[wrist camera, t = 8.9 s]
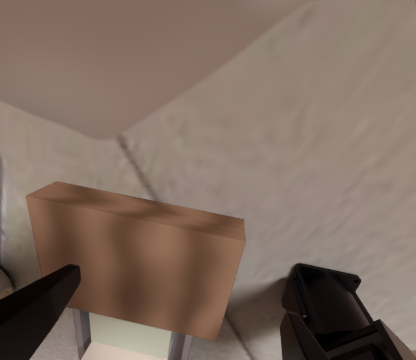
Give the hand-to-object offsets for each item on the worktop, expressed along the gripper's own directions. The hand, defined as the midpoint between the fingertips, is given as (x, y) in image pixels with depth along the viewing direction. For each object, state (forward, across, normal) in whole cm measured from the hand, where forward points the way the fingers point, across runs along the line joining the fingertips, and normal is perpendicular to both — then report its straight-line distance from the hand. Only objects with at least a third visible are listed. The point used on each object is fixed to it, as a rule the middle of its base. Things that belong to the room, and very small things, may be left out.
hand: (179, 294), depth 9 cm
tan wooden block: (+12, +6, +10) cm, 17 cm away
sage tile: (+11, +6, +20) cm, 24 cm away
